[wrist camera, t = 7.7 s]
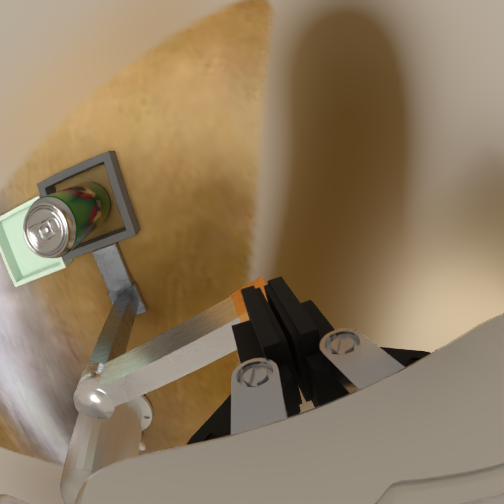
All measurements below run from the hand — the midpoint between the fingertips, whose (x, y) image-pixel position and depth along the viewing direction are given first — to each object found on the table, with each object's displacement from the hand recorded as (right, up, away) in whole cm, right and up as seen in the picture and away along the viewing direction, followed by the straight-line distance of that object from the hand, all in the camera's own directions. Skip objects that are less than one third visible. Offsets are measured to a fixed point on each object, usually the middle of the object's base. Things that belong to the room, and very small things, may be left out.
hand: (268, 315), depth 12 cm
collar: (-18, +8, +18) cm, 27 cm away
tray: (-27, +4, +18) cm, 32 cm away
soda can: (-18, +8, +18) cm, 27 cm away
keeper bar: (-7, -4, +9) cm, 12 cm away
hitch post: (-16, -1, +21) cm, 27 cm away
